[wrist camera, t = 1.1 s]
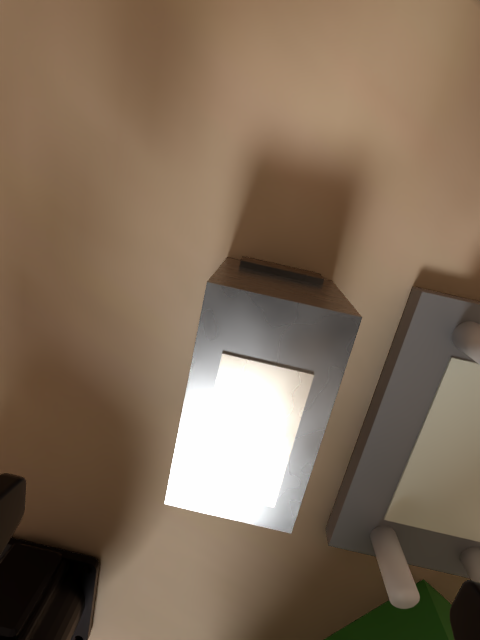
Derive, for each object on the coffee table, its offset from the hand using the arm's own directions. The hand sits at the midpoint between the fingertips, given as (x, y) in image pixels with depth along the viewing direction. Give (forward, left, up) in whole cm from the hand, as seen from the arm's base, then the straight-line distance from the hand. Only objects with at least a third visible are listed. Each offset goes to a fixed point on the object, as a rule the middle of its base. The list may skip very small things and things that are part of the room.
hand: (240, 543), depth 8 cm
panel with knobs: (-2, -10, -10) cm, 14 cm away
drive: (0, 0, -10) cm, 10 cm away
